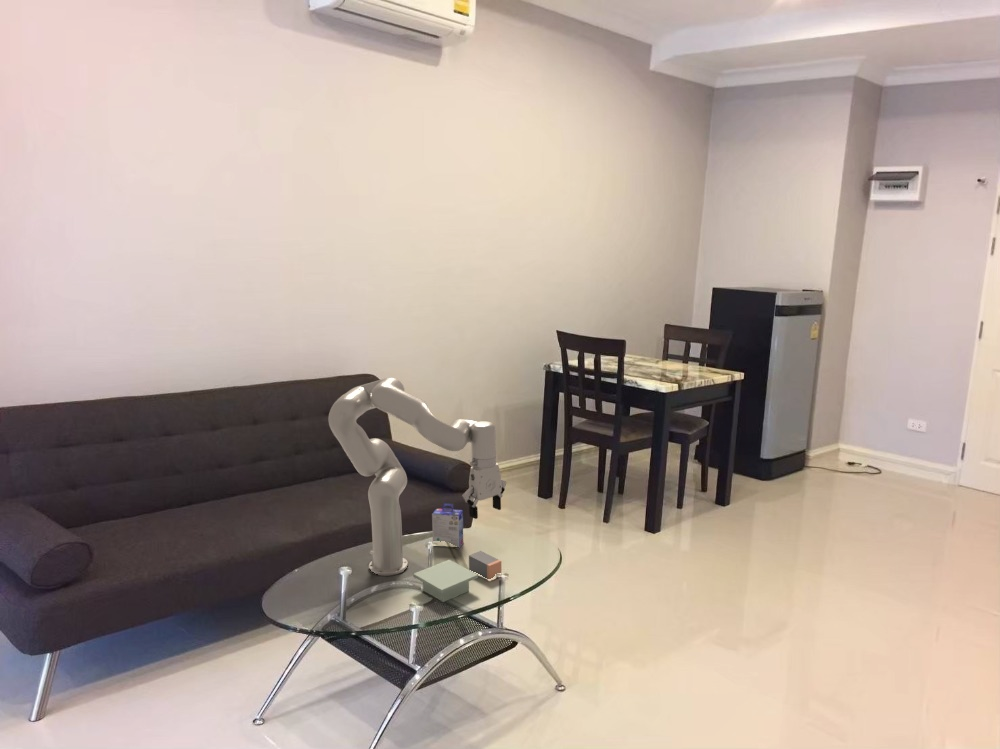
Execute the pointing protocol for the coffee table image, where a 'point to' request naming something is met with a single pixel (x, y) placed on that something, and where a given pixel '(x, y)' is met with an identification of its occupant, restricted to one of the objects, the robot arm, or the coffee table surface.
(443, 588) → the stand
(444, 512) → the ink cartridge box
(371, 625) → the coffee table surface
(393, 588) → the coffee table surface
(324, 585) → the coffee table surface
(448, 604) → the coffee table surface
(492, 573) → the block
